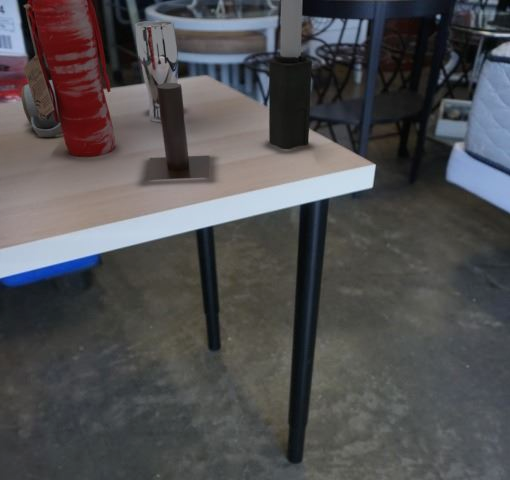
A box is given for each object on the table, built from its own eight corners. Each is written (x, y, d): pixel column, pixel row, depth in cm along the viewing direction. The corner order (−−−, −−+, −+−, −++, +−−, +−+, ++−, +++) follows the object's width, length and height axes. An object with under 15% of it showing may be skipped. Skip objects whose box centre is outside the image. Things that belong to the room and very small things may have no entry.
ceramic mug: (36, 121, 100) (23, 76, 95) (80, 119, 101) (70, 73, 96) (26, 140, 93) (11, 91, 87) (73, 137, 93) (62, 88, 88)
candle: (284, 159, 82) (288, -48, 66) (266, 151, 86) (265, -49, 69) (311, 153, 84) (320, -50, 68) (291, 144, 88) (296, -51, 71)
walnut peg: (145, 190, 74) (130, 95, 66) (151, 167, 81) (138, 79, 73) (210, 188, 75) (202, 92, 67) (210, 165, 81) (203, 76, 73)
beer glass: (168, 125, 97) (157, 27, 87) (139, 120, 100) (125, 25, 90) (191, 115, 102) (182, 21, 92) (163, 111, 104) (151, 19, 94)
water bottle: (41, 171, 81) (-19, -39, 64) (49, 153, 87) (-4, -42, 70) (121, 165, 82) (83, -42, 65) (123, 148, 88) (89, -46, 71)
